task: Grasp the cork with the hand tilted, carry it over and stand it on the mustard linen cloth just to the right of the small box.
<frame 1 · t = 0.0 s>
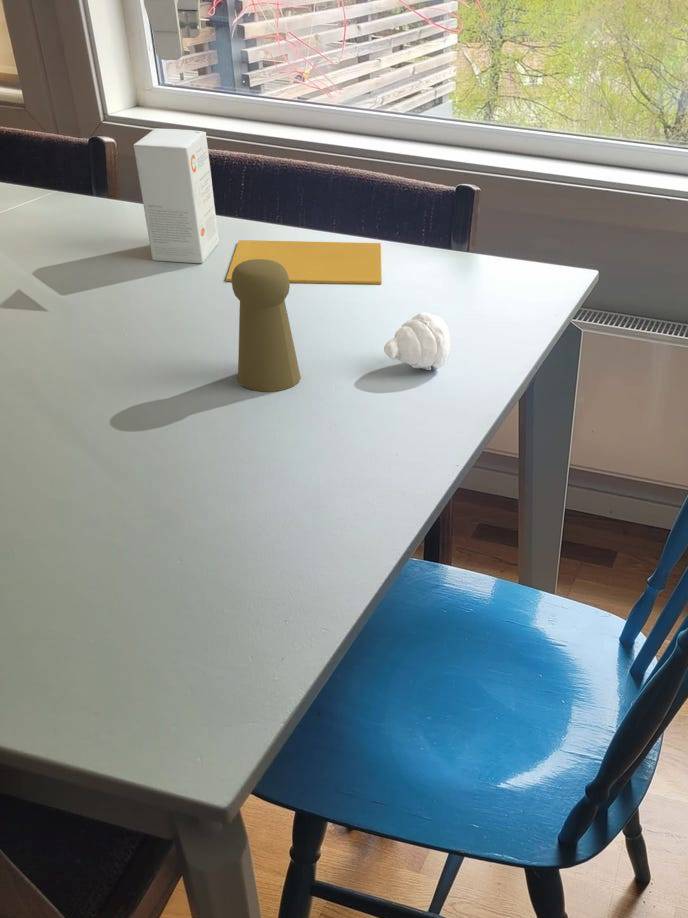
hand: (180, 47, 76), 28 cm above the table, tool pointing down, fingers open, 8 cm apart
small box: (186, 253, 123), on the table
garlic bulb: (413, 372, 99), on the table
cork: (269, 379, 97), on the table
linen cloth: (307, 262, 122), on the table
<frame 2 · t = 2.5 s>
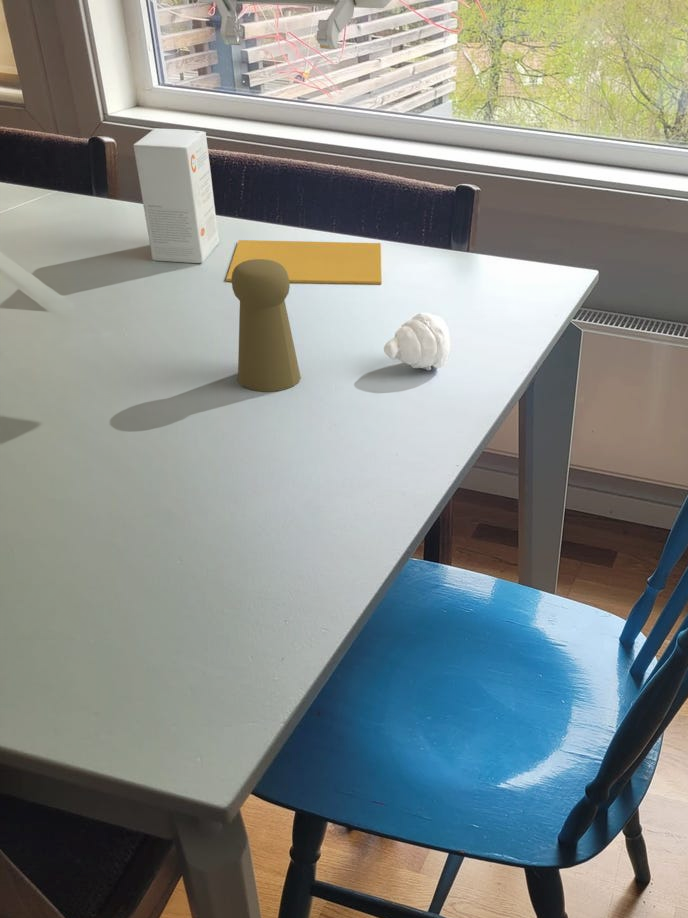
hand: (278, 43, 93), 26 cm above the table, tool tilted 40°, fingers open, 8 cm apart
nothing on the table moved.
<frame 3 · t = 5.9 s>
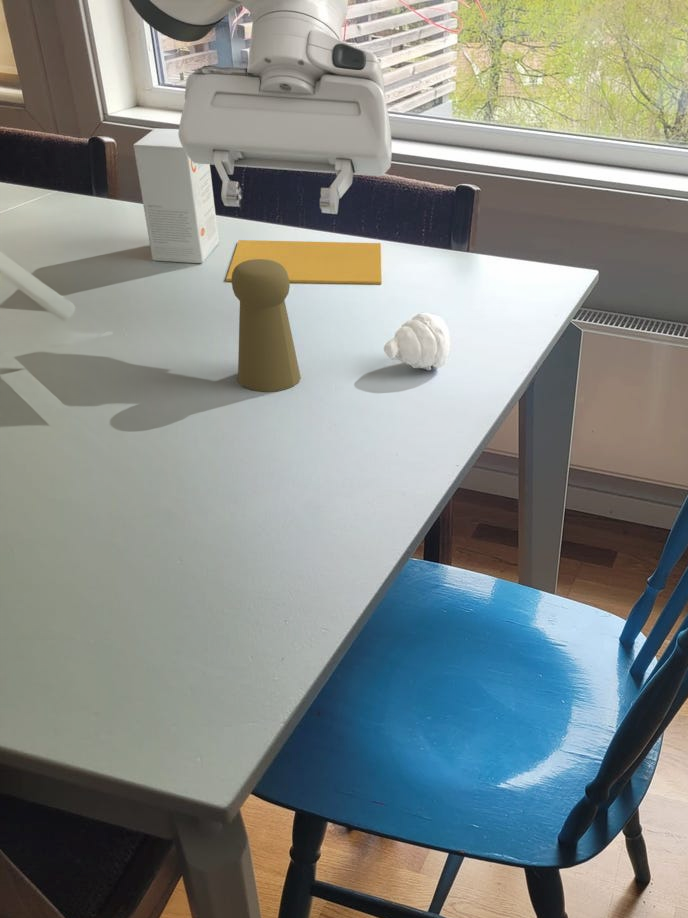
hand: (279, 207, 95), 13 cm above the table, tool tilted 45°, fingers open, 8 cm apart
nothing on the table moved.
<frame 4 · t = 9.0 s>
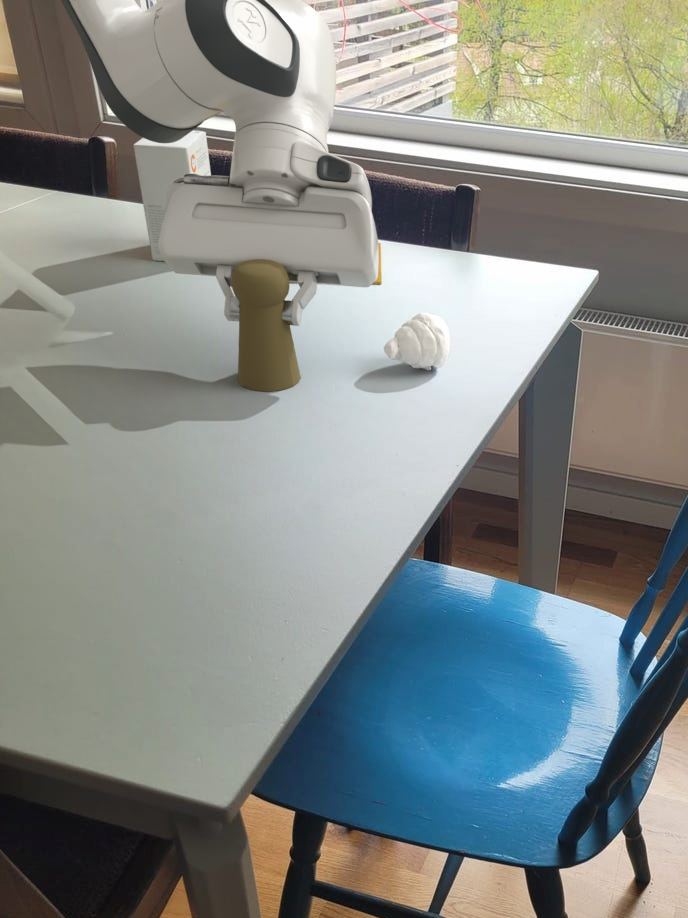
hand: (262, 321, 92), 6 cm above the table, tool tilted 45°, fingers closed on cork, 4 cm apart
cork: (269, 379, 97), on the table, touching gripper
everything else where it was.
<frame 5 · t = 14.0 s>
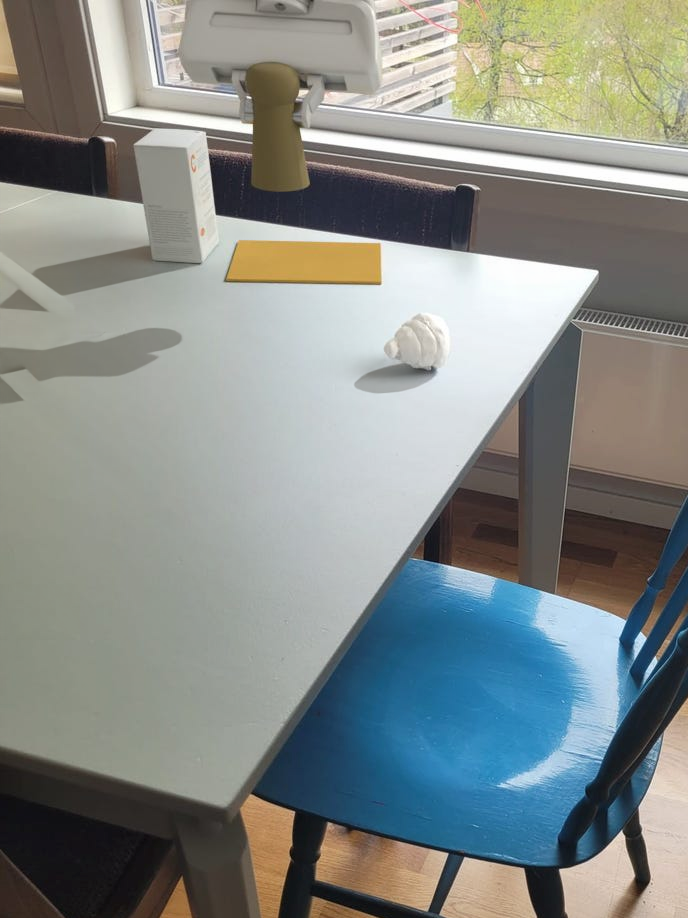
hand: (274, 122, 100), 18 cm above the table, tool tilted 45°, fingers closed on cork, 4 cm apart
cork: (280, 185, 104), point 12 cm above the table, touching gripper
everything else where it was.
when the fingers open (6 cm above the table, at t = 19.3 s): cork stays where it is, resting on linen cloth.
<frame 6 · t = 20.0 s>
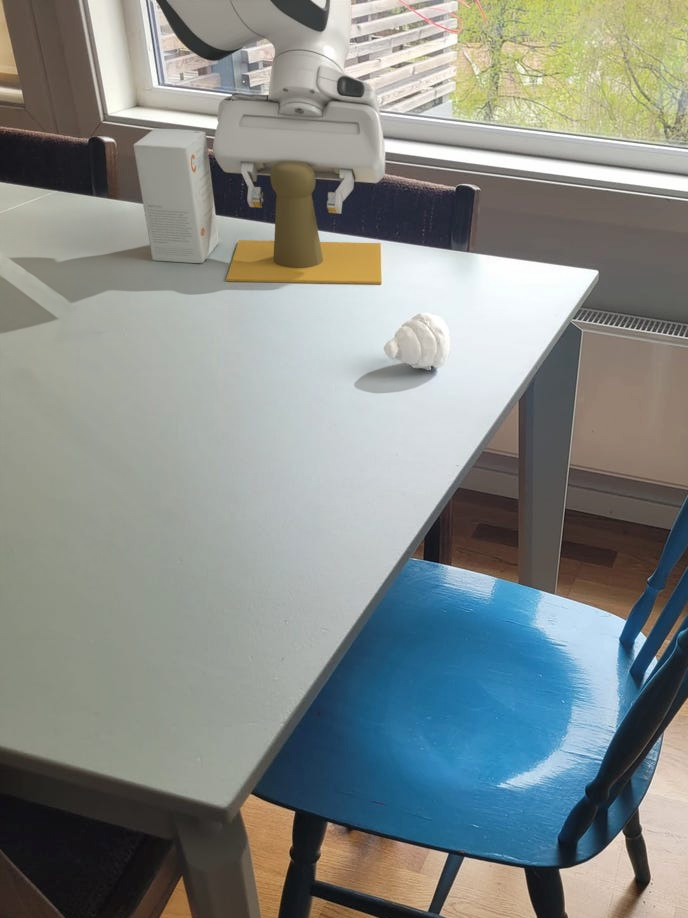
hand: (294, 207, 117), 7 cm above the table, tool tilted 45°, fingers open, 8 cm apart
cork: (298, 261, 122), resting on linen cloth
everything else where it was.
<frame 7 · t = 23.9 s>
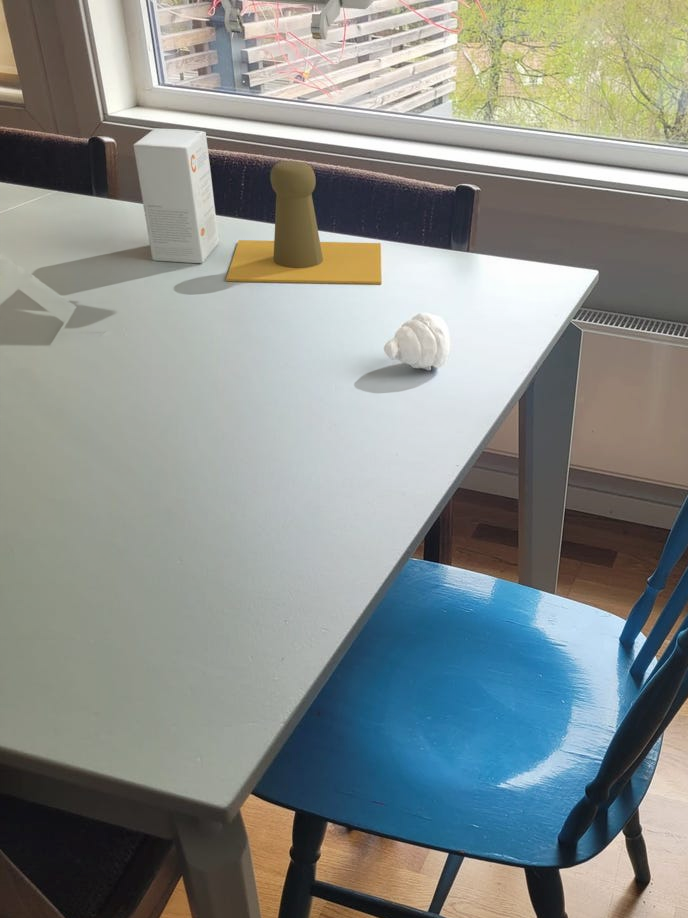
hand: (275, 32, 108), 24 cm above the table, tool tilted 45°, fingers open, 8 cm apart
nothing on the table moved.
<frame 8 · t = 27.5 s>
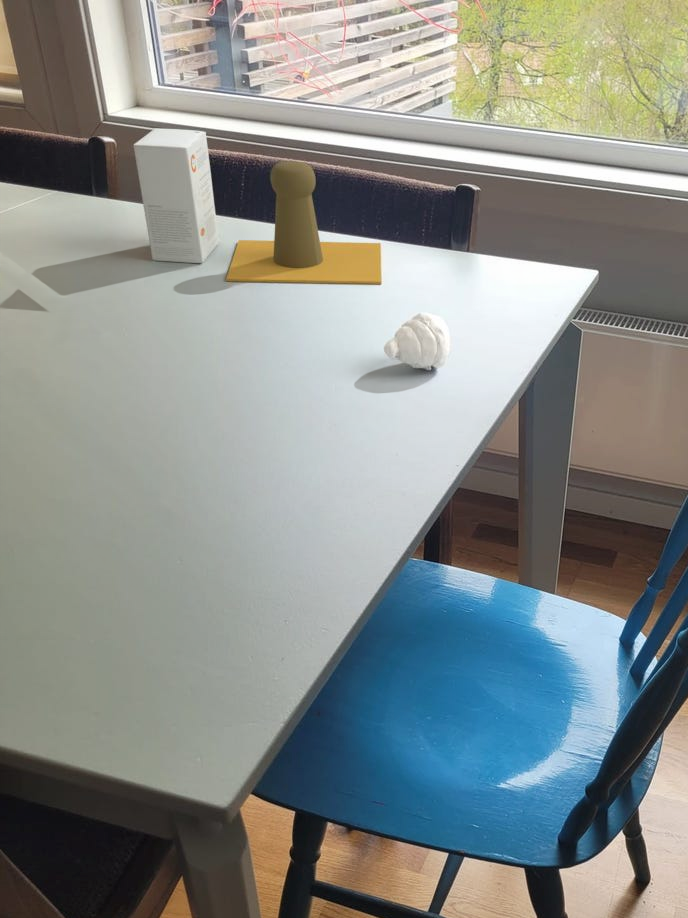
nothing on the table moved.
at the end: cork inside the target area on the table beside the small box (0.8 cm from its centre), resting on linen cloth; cork 14.2 cm from the small box (horizontally); cork tilted 0° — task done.
